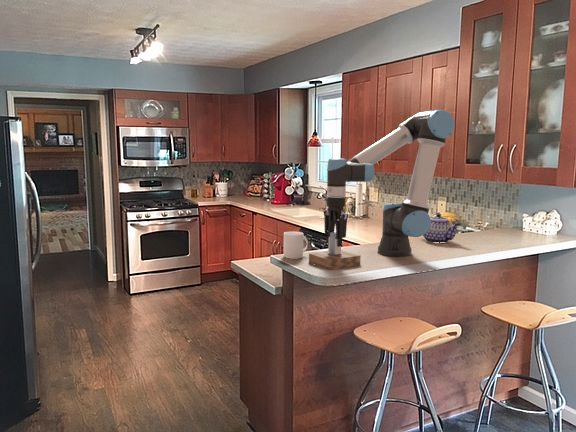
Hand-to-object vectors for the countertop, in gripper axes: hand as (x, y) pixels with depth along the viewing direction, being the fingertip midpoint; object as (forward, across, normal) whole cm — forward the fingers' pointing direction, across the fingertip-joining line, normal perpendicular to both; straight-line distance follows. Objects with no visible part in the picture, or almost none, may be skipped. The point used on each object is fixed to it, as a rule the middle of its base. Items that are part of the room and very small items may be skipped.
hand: (334, 252), depth 203 cm
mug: (+5, -19, -6) cm, 21 cm away
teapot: (+5, -10, +76) cm, 77 cm away
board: (+5, 0, 0) cm, 5 cm away
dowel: (+3, 0, 0) cm, 3 cm away
